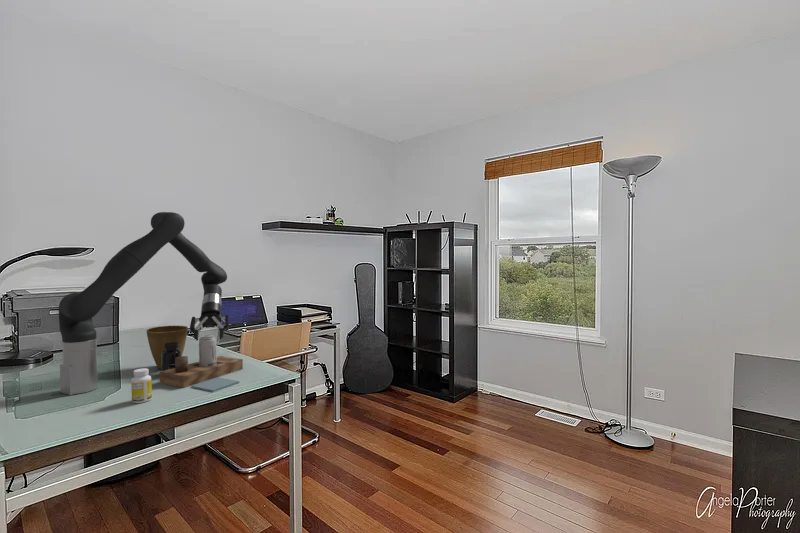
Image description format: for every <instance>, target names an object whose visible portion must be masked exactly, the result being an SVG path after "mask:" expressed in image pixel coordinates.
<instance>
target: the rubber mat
mask: <svg viewBox="0 0 800 533" xmlns="http://www.w3.org/2000/svg"><path fill="white" fill-rule="evenodd" d="M237 384H240V381H239V380H234V379H229V378H225V377H216V378H213V379H210V380H207V381H204V382H201V383H197V384H194V385H191V388H192V387H193V389H196V388H197V390H200V391H207V392H211V393H214V392H218V391H220V390H223V389H227V388H229V387H232V386H234V385H237ZM217 390H218V391H217Z"/></svg>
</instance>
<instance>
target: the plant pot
mask: <svg viewBox="0 0 800 533" xmlns="http://www.w3.org/2000/svg"><path fill="white" fill-rule="evenodd" d="M188 329H189V327H188V326H185V325H161V326H155V327H154V326H153V327H152V328H148V329H146V336H147V341H148V345H149V350H150V352H151V355H152V359H153V360H154V363H155V365H156V367H157V369H159V370H161V354H162V352H163V351H164V350H165V349H164V344H165V343H171V342H177V343H179V348H178V349H179V350H181V356H183V353H184V350H185V346H186V342H187V336H188V331H189V330H188Z"/></svg>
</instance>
